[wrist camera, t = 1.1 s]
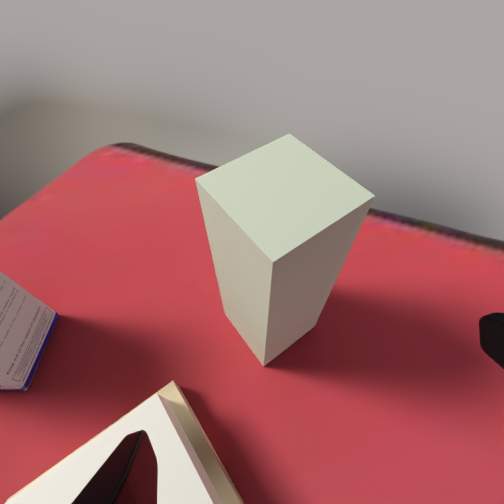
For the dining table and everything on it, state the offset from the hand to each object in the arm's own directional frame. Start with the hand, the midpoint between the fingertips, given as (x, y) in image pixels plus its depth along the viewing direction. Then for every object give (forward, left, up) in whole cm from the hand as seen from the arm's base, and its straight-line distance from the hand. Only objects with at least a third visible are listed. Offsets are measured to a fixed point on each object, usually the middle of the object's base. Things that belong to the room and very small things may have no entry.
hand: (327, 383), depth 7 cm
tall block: (+6, -4, -14) cm, 16 cm away
